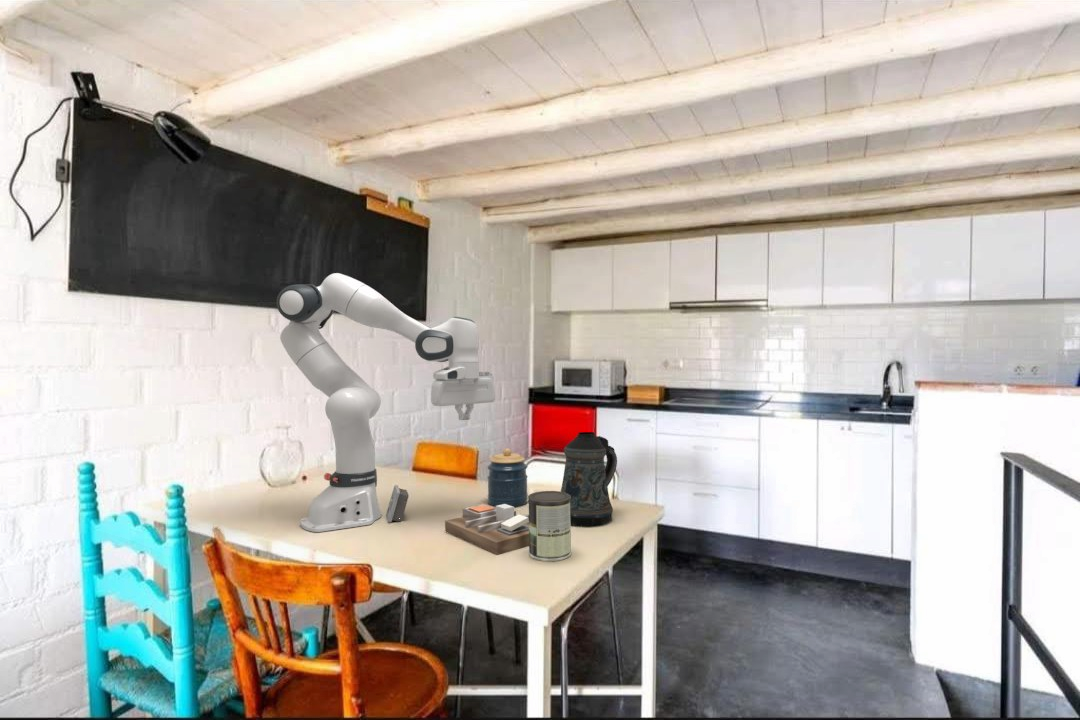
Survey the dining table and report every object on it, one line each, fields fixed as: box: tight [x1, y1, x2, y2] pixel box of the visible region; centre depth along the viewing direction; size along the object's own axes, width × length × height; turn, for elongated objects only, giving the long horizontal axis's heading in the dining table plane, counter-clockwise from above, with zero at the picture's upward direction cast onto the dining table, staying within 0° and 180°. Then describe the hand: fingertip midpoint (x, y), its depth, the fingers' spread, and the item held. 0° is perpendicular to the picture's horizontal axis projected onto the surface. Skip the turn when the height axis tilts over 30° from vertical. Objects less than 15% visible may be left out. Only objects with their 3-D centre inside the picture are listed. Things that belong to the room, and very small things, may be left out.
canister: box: [486, 447, 529, 508], centre depth 188 cm, size 13×13×18 cm
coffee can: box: [527, 490, 572, 562], centre depth 140 cm, size 10×10×14 cm
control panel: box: [444, 503, 529, 556], centre depth 155 cm, size 18×24×6 cm
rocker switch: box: [501, 513, 529, 531], centre depth 149 cm, size 6×4×1 cm, turn 130°
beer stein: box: [560, 431, 618, 528], centre depth 170 cm, size 16×19×25 cm
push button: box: [469, 504, 494, 513], centre depth 161 cm, size 5×5×2 cm
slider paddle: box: [495, 504, 515, 521], centre depth 156 cm, size 3×4×4 cm
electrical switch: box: [386, 484, 409, 524], centre depth 172 cm, size 9×5×9 cm, turn 18°
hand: (464, 419), depth 170 cm, fingers closed
